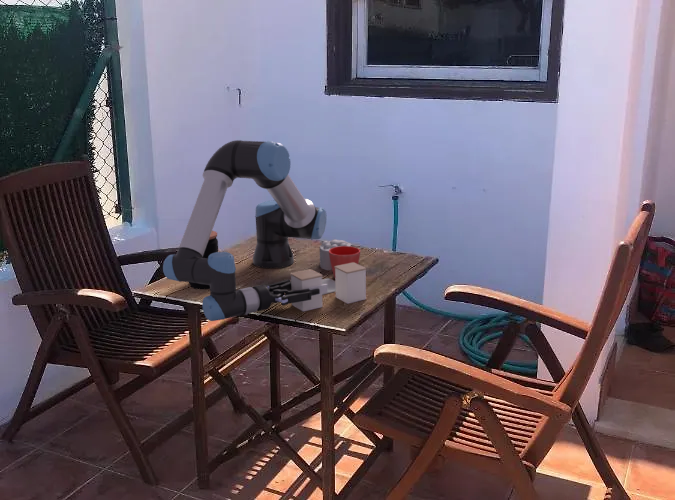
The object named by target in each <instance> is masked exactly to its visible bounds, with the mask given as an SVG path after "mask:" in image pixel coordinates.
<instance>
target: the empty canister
mask: <svg viewBox="0 0 675 500" xmlns="http://www.w3.org/2000/svg"><path fill="white" fill-rule="evenodd" d="M334 268H335V278H334V279H335V280H334V281H335V285H336V292H335V298H336V299H338V300H339V301H342V302H344V303H345V304H353V303H356V302H360V301H364V300H367V298H366V297H367V290H366V289H367V280H366V279H367V278H366V275H367V273H366V272H367V267H365V266H363V265H361V264H359V263H358V264H356V263H354V262H353V263H348V264H343V265H338V266H334Z"/></svg>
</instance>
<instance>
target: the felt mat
mask: <svg viewBox="0 0 675 500" xmlns="http://www.w3.org/2000/svg"><path fill="white" fill-rule="evenodd" d="M323 284H327V292H328V293H324V294H322V296H323V295H326V294H331V293H334V292H335V293H336V285H335V280H333V279H332V278H329V277H328V278H322V285H323Z"/></svg>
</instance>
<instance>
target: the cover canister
mask: <svg viewBox="0 0 675 500" xmlns="http://www.w3.org/2000/svg"><path fill="white" fill-rule="evenodd" d="M289 275H290V281H291V290H304V289H308V288H309V287H314V286H318V285H322V279H323V274H322V273H320V272H318V271H315V270H313V269H312V268H308V269H305V270H304V269H303V270H298V271H294V272H289ZM291 305H292V306H293V307H295V308H296V309H298V310H299V311H301V312H307V311H311V310H315V309H320V308H323V295H322V294H319V295H315V296H311V300H307V301H301V302H296V303H291Z"/></svg>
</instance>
